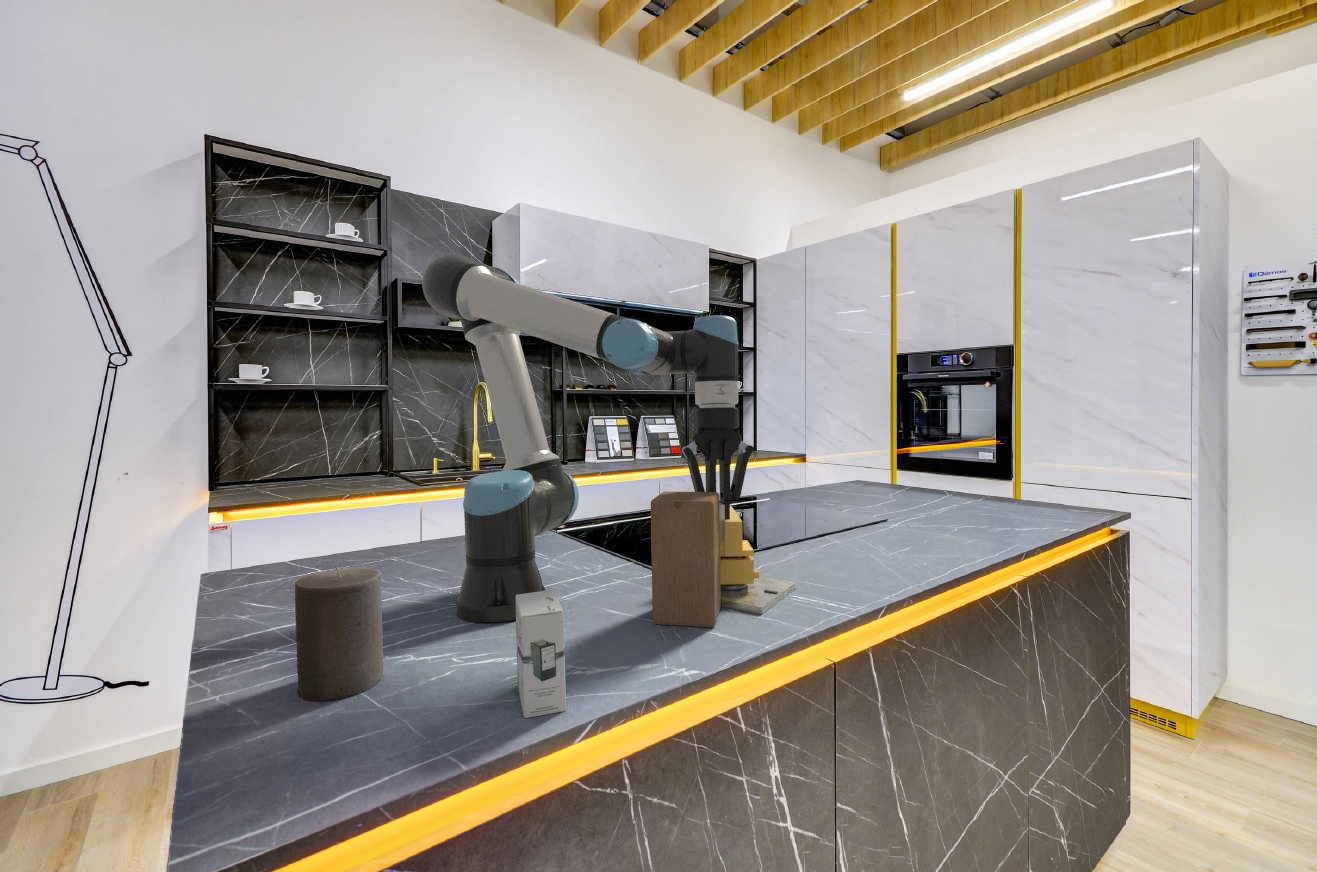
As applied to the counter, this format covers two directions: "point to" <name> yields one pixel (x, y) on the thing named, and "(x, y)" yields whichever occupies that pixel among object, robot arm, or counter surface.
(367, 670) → the pillar candle
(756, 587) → the base
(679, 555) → the wooden block
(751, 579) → the yellow block with bar
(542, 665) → the ink box
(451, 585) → the counter surface
